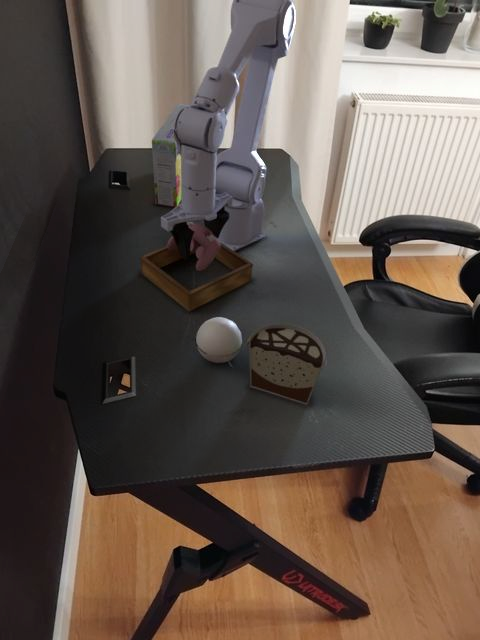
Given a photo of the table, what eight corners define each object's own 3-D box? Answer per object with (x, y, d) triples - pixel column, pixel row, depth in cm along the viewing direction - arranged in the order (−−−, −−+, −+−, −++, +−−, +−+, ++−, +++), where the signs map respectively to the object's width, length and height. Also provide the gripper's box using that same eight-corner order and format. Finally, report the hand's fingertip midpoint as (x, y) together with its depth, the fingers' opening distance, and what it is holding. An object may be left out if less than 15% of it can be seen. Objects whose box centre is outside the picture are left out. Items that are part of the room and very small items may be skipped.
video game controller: (214, 273, 105) (228, 239, 102) (197, 272, 101) (212, 236, 99) (180, 249, 109) (193, 216, 107) (163, 247, 106) (176, 212, 103)
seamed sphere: (192, 342, 95) (193, 308, 90) (236, 340, 96) (239, 306, 91) (199, 386, 88) (200, 352, 83) (246, 383, 89) (250, 349, 84)
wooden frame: (203, 247, 116) (203, 230, 113) (251, 280, 109) (253, 263, 106) (141, 273, 107) (139, 256, 104) (189, 311, 100) (189, 294, 98)
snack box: (177, 164, 141) (176, 102, 131) (199, 167, 141) (200, 105, 131) (153, 205, 126) (150, 138, 116) (178, 209, 126) (177, 142, 115)
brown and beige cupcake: (326, 381, 91) (337, 335, 84) (316, 408, 87) (327, 361, 80) (254, 359, 93) (259, 312, 86) (241, 384, 89) (245, 336, 82)
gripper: (179, 205, 89) (179, 275, 98) (246, 180, 97) (241, 247, 106) (151, 187, 92) (155, 257, 101) (218, 164, 100) (216, 231, 110)
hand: (197, 251), depth 104 cm, fingers closed on video game controller, 6 cm apart
